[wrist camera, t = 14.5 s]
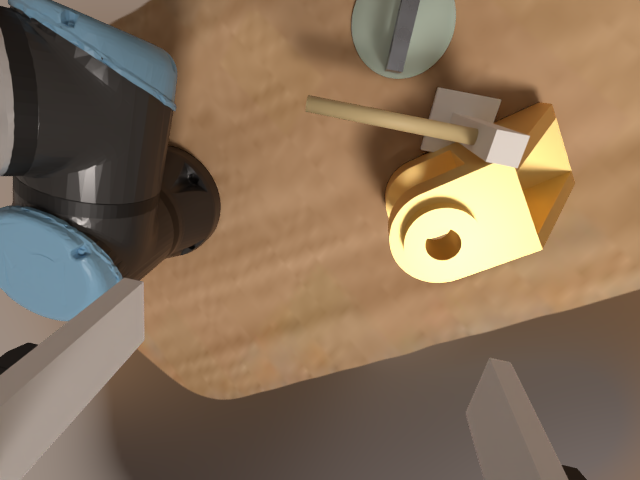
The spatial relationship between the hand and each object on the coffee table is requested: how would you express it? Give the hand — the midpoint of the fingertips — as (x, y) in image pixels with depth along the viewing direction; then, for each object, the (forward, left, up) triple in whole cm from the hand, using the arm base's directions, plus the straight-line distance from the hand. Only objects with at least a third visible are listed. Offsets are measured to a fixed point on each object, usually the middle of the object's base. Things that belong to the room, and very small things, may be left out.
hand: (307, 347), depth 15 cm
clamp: (+14, +1, -37) cm, 39 cm away
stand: (+5, +7, -37) cm, 38 cm away
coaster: (+2, +16, -37) cm, 40 cm away
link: (+2, +16, -36) cm, 40 cm away
